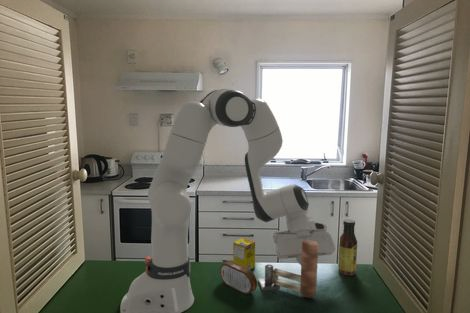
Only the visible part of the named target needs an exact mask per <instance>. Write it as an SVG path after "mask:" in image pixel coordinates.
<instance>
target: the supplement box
mask: <svg viewBox="0 0 470 313" xmlns="http://www.w3.org/2000/svg"><path fill="white" fill-rule="evenodd" d="M232 245H233V247H232V248H233V249H232V250H233V255H232V256H233V262H235V263H237V264H239V265H241V266H243V267H246V268H248V269H249V270H251V271H253V270H255V269H256V241H254V240H251V239H248V238H245V237H242V238H239V239H237V240H236V241H235V240H234V242H233V244H232Z"/></svg>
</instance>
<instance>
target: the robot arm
mask: <svg viewBox="0 0 470 313" xmlns="http://www.w3.org/2000/svg"><path fill="white" fill-rule="evenodd" d="M216 125H219V126H222V127H229V128H237V127H241V129H242V130H243V133H244V135H245V139H246V141H247V145H248V148H247V152H246V153H245V154H244V167H245V171H246V172H245V173H246V177H247V181H248V185H249V190H250V195H251V200H252V208H253V212H254V216H255V217H256V218H257V219H258V220H259V221H261V222H265V223H269V222H271V221H274V220H276V219H278V218H279V219H280V218H283V217H285V219H286V221H285V222H286V228H287V229H286V230H282V231H280V230H278V231H276V232H275V233H273V235H272V238H273V242H274V244H275V255H276V257H277V259H279V260H284V259H295V260H296V262H297V263H298V264H299V265H300V266H301V258H302V242H303V241H306V240H311V241H315V242H317V243H318V257H319V256H321V257H322V256H331V255H333V253H334V252H335V251H336V246H335V244H334V241H333V237H332V235H331V233H330V232H329V231H327V230H328V226H327V224H326V223H321V222H317V221H313V220H312V219H311V217H310V214H309V206H310V205H309V201H308V196H307V193H306V191H305V189H304V188H303V187H301V186H299V185H297V184H289V185H285V186H281V187H279V188H277V189H273V190H270V191H264V190H263V185H262V179H261V176H260V170H262V168H263V167H264V166H266V165H267V164H268V162H270V161H271V160H273V159H274V158H275V157H276V156H277V155H278V154H279V152H280V150H281V149H282V146H283V140H284V139H283V136H282V132H281V129H280V126H279V123H278V121H277V119H276V117H275V115H274V113H273V111H272V110H271V107H270V106H269V104H268V103H267V102H266V101H265V99H262V98H252V99H250V98H249V96H247V95H246V94H244V93H243V92H242V91H240V90H236V89H229V88H221V89H215V90H212V91H210V92H209V93H208V94H206V95H205V97H203V98H202V99H201V100H200V101H197V100H195V101H194V100H190V101H186V102H184V103H183V104H182V105H181V107H180V109H179V110H178V112H177V114H176V117H175V118H174V121H173V123H172V126H171V129H170V130H169V131H170V132H169V136H168V137H167V141H166V144H165V147H164V151H163V153H162V157H161V159H160V162H159V164H158V166H157V168H156V170H155V173H154V176H153V178H152V180H151V183H150V186H149V188H148V192H147V198H148V201H149V204H150V210H151V234H150V235H151V236H150V240H151V242H150V243H151V256H149V255H148V256H146V257H145V258H144V263H145V266H144V268H145V271H144V272H143V273H141V274H140V275H139V276H137V277H136V278H134V280H132V282H131V284H130V286H129V289H128V292H127V293H126V294H125V295H124V296H123V298H122V299H121V301H120V306H119V307H120V308H119V311H120V312H119V313H184V312H185V311H187V310H188V309H189V308H191V307H192V306H193V305H194V301H195V296H194V294H193V291H192V286H191V281H190V280H191V279H190V276H191V261H190V256H189V247H188V246H189V239H188V238H189V226H190V219H191V213H192V202H191V198H190V196H189V194H188V192H187V188H188V185H189V184H190V181H191V179H192V178H193V175H194V174H195V172H196V171H197V170H198V169H199V166H200V163H201V161H202V160H201V159H202V157H203V153H204V150H205V148H206V144H207V141H208V136H209V134H210V132H211V130H212V129H213V128H214V127H215V126H216Z"/></svg>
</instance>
